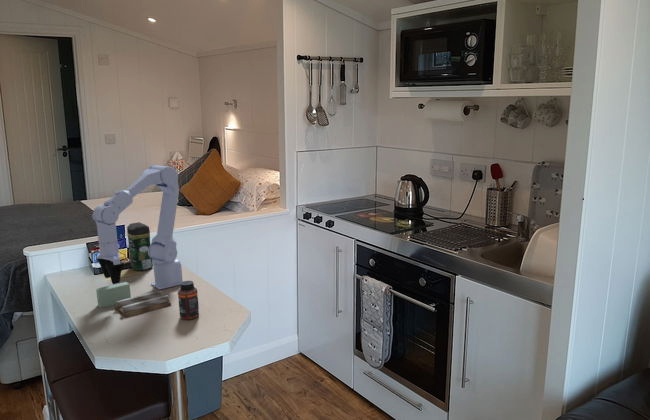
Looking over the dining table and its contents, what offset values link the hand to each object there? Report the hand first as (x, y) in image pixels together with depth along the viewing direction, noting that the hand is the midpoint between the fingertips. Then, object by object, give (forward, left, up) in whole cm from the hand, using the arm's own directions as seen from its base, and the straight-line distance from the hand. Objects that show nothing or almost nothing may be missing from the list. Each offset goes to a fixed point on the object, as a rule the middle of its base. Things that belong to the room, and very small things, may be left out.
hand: (112, 280), depth 176 cm
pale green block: (0, 0, -8) cm, 8 cm away
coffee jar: (-21, -31, -8) cm, 38 cm away
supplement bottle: (-14, +28, -8) cm, 32 cm away
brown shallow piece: (-6, +10, -8) cm, 14 cm away
